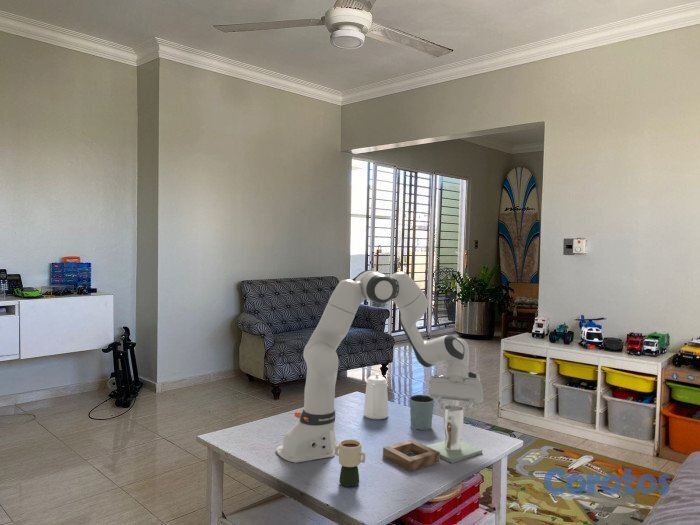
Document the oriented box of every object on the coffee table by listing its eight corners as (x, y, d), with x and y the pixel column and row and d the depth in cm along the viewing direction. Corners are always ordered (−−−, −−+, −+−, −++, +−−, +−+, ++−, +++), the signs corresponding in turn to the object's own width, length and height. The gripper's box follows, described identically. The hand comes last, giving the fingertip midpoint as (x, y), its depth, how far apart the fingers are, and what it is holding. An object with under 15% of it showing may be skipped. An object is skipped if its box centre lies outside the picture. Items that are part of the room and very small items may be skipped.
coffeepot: (358, 424, 218) (359, 380, 217) (368, 406, 242) (369, 366, 241) (384, 427, 215) (385, 382, 215) (391, 408, 240) (392, 367, 239)
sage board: (451, 463, 182) (451, 459, 182) (423, 449, 193) (423, 446, 193) (482, 453, 192) (482, 450, 192) (453, 440, 203) (453, 437, 203)
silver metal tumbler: (448, 443, 197) (449, 403, 197) (465, 447, 193) (467, 407, 192) (439, 448, 192) (440, 407, 191) (456, 453, 188) (458, 412, 187)
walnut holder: (409, 471, 175) (410, 461, 174) (382, 457, 186) (383, 447, 186) (439, 462, 183) (439, 452, 183) (411, 448, 194) (412, 439, 194)
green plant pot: (432, 423, 222) (433, 395, 222) (434, 431, 212) (435, 402, 212) (408, 422, 223) (409, 394, 222) (409, 430, 213) (410, 401, 212)
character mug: (369, 484, 165) (371, 443, 165) (358, 493, 159) (359, 450, 158) (340, 475, 171) (341, 436, 170) (328, 483, 165) (329, 442, 164)
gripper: (429, 370, 205) (426, 402, 196) (483, 375, 200) (482, 408, 191) (430, 379, 209) (427, 410, 200) (483, 383, 204) (482, 416, 195)
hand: (454, 409), depth 195 cm, fingers open, 8 cm apart
